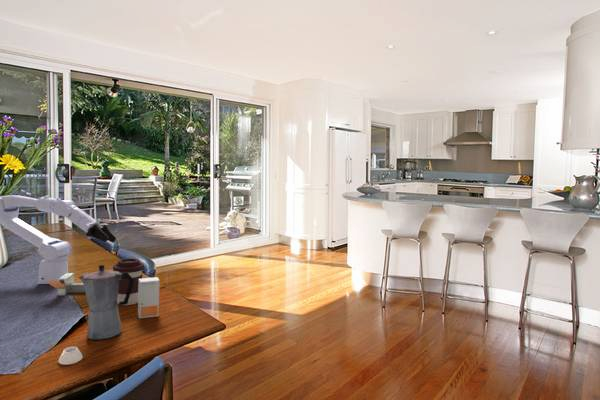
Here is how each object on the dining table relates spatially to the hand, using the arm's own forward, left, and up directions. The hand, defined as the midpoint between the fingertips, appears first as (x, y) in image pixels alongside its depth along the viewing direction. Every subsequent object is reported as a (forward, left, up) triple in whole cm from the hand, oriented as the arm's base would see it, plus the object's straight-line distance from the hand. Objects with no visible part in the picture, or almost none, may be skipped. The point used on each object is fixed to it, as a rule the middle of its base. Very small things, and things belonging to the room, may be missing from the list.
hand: (111, 240), depth 153 cm
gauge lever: (-13, -17, -13) cm, 25 cm away
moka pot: (+11, -48, -18) cm, 52 cm away
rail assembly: (-6, -9, -18) cm, 21 cm away
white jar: (+7, -63, -18) cm, 66 cm away
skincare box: (+20, -35, -18) cm, 44 cm away
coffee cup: (+11, -22, -18) cm, 30 cm away
